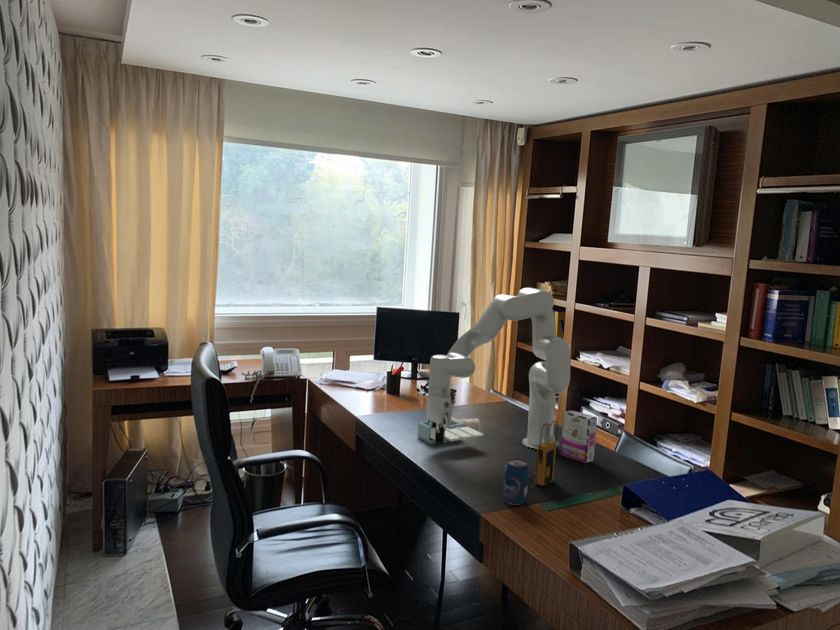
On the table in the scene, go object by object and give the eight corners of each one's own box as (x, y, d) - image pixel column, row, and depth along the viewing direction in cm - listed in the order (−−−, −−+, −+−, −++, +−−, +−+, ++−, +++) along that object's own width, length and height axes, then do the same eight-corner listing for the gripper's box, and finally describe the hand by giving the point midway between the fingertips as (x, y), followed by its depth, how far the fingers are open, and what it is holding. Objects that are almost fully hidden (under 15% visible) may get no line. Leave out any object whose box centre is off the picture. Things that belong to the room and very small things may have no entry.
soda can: (498, 502, 183) (500, 462, 181) (508, 495, 188) (511, 456, 187) (520, 509, 179) (523, 468, 177) (530, 501, 185) (533, 461, 183)
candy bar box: (594, 462, 220) (598, 416, 218) (586, 465, 217) (589, 419, 215) (568, 453, 229) (571, 409, 227) (559, 455, 226) (563, 411, 224)
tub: (461, 439, 239) (462, 424, 238) (430, 444, 231) (431, 428, 230) (447, 432, 246) (448, 417, 245) (417, 437, 238) (418, 422, 238)
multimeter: (531, 470, 210) (535, 411, 208) (558, 478, 204) (563, 418, 201) (508, 482, 199) (512, 420, 196) (536, 491, 192) (541, 427, 190)
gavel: (428, 420, 272) (458, 436, 242) (428, 406, 272) (459, 421, 242) (449, 418, 276) (482, 435, 246) (450, 405, 275) (483, 419, 246)
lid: (483, 436, 227) (484, 426, 227) (440, 443, 217) (440, 433, 217) (467, 428, 235) (467, 419, 235) (424, 434, 225) (425, 425, 225)
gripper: (461, 395, 215) (458, 447, 217) (435, 384, 229) (432, 433, 231) (443, 397, 211) (440, 449, 213) (417, 386, 225) (414, 436, 227)
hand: (436, 440), depth 222 cm, fingers closed on lid, 3 cm apart
